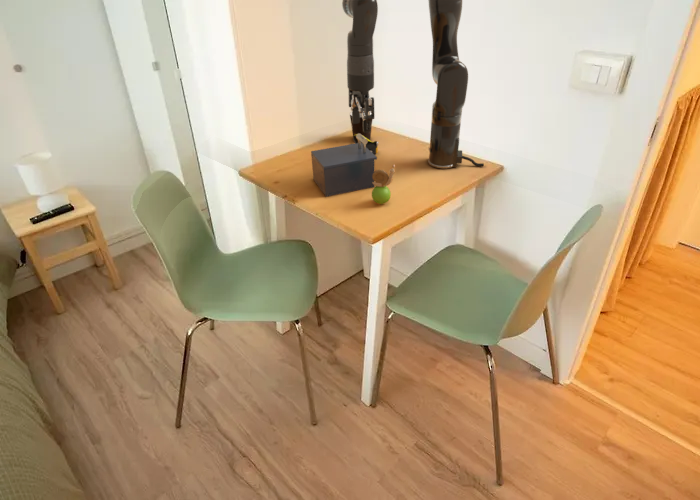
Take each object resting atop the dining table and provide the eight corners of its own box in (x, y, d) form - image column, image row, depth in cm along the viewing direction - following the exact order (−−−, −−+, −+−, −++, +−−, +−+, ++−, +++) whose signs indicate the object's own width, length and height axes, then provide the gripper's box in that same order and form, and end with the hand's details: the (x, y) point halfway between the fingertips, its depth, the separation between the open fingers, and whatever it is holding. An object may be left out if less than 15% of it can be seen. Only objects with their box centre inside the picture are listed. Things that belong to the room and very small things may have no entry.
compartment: (359, 171, 153) (358, 145, 148) (374, 187, 143) (374, 160, 138) (313, 179, 149) (311, 153, 144) (325, 197, 139) (324, 169, 134)
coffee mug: (355, 134, 181) (354, 108, 175) (376, 136, 178) (376, 110, 172) (343, 145, 172) (342, 118, 166) (365, 147, 169) (365, 120, 163)
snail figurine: (392, 208, 132) (393, 169, 125) (370, 206, 133) (370, 168, 126) (394, 199, 136) (395, 161, 129) (373, 197, 137) (372, 160, 130)
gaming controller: (341, 162, 159) (369, 166, 156) (340, 147, 156) (368, 150, 153) (355, 146, 170) (381, 149, 167) (354, 132, 167) (381, 134, 164)
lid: (360, 144, 148) (360, 128, 145) (376, 159, 138) (376, 142, 135) (311, 153, 144) (309, 136, 140) (324, 169, 134) (322, 151, 130)
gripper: (383, 75, 124) (382, 133, 134) (363, 64, 135) (364, 118, 145) (357, 78, 122) (358, 137, 131) (339, 66, 133) (341, 122, 143)
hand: (361, 127), depth 138 cm, fingers open, 8 cm apart
